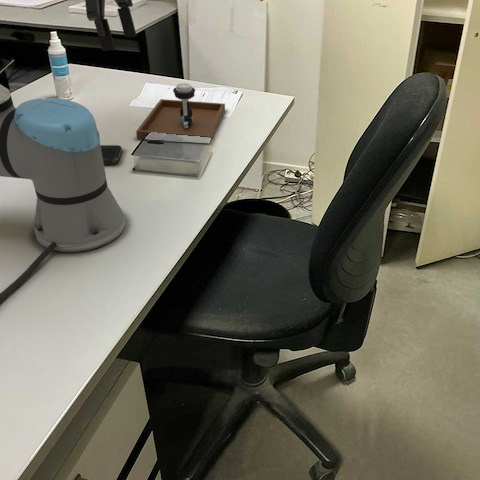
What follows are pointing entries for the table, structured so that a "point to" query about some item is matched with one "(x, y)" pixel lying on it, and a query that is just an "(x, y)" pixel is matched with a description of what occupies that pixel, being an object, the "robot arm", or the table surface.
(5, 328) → the table surface
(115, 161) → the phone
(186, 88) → the push button
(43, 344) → the table surface
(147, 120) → the tray
